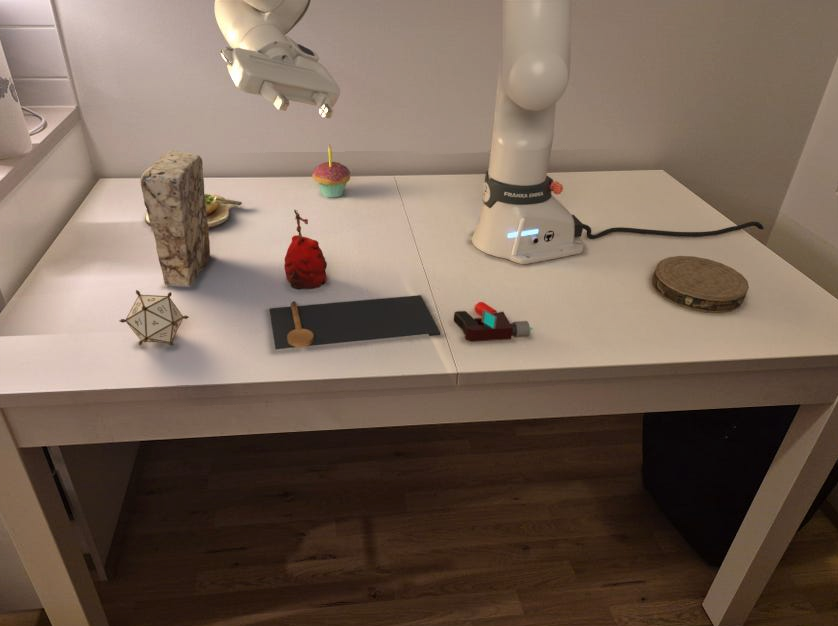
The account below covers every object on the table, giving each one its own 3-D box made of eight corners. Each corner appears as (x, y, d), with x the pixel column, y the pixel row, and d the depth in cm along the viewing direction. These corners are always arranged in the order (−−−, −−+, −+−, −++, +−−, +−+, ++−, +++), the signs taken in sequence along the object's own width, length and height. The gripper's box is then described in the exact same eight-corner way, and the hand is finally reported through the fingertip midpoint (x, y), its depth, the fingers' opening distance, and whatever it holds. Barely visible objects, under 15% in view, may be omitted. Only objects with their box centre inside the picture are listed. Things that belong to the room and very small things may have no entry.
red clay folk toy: (334, 280, 117) (332, 200, 108) (314, 298, 112) (311, 215, 103) (297, 270, 119) (293, 192, 111) (276, 287, 114) (270, 206, 105)
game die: (165, 368, 100) (141, 347, 91) (126, 334, 102) (98, 311, 92) (205, 325, 102) (186, 301, 93) (167, 293, 104) (144, 266, 94)
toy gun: (535, 340, 104) (541, 314, 101) (463, 345, 102) (466, 319, 99) (516, 308, 112) (520, 284, 109) (448, 313, 109) (451, 287, 107)
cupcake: (348, 201, 147) (348, 148, 140) (311, 200, 146) (308, 146, 139) (351, 187, 154) (351, 136, 146) (315, 186, 153) (313, 134, 146)
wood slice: (659, 262, 128) (663, 248, 126) (746, 283, 123) (752, 269, 121) (644, 297, 117) (648, 282, 115) (739, 322, 111) (745, 307, 109)
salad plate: (241, 196, 146) (239, 176, 144) (244, 229, 132) (242, 208, 130) (150, 200, 142) (146, 180, 140) (144, 235, 128) (139, 213, 126)
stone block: (201, 290, 112) (183, 177, 101) (160, 289, 112) (137, 175, 100) (216, 255, 123) (201, 149, 111) (178, 254, 123) (160, 148, 111)
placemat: (420, 297, 113) (420, 295, 113) (440, 335, 104) (440, 332, 104) (269, 310, 108) (269, 308, 107) (275, 351, 98) (275, 349, 98)
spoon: (281, 306, 108) (280, 301, 108) (305, 304, 109) (305, 299, 108) (288, 348, 98) (288, 343, 98) (315, 345, 99) (315, 340, 99)
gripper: (223, 28, 103) (262, 83, 98) (322, 54, 118) (360, 103, 113) (210, 63, 107) (246, 118, 102) (308, 84, 121) (344, 133, 117)
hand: (307, 110), depth 108 cm, fingers open, 8 cm apart
